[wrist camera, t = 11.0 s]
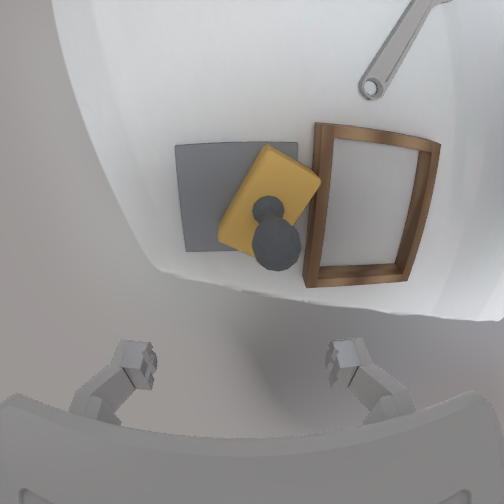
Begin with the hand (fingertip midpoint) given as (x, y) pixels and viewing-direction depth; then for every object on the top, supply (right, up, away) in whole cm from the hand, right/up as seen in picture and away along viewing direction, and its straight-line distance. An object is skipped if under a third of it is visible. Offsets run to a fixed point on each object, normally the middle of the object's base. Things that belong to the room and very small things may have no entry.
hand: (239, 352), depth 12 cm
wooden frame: (+14, +10, +18) cm, 25 cm away
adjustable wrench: (+17, +31, +6) cm, 36 cm away
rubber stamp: (+2, +10, +16) cm, 19 cm away
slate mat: (-1, +10, +17) cm, 20 cm away
